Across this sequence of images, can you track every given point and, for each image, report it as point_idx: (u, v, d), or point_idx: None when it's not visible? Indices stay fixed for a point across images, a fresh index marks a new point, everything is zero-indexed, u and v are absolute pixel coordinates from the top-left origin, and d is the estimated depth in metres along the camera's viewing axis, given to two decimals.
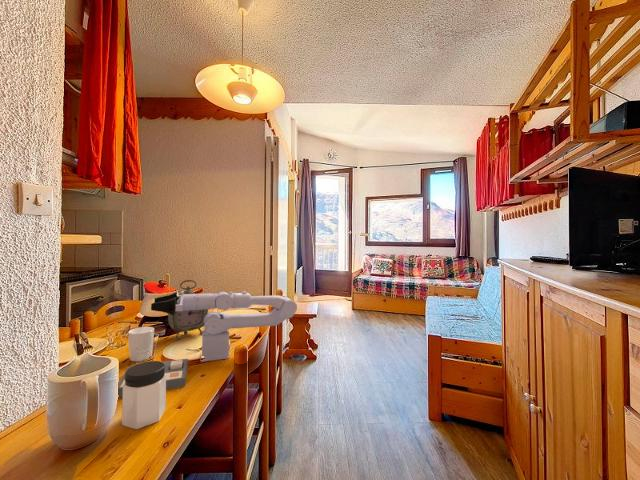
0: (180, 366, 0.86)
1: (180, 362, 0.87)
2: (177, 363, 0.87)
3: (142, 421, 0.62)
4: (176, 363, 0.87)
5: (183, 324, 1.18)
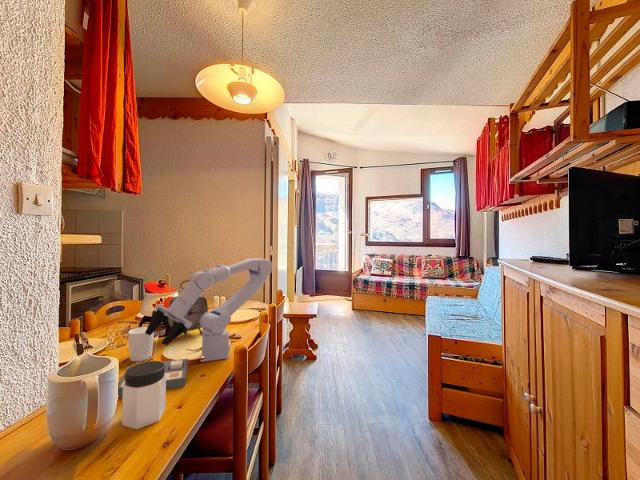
0: (180, 366, 0.86)
1: (180, 362, 0.87)
2: (177, 363, 0.87)
3: (142, 421, 0.62)
4: (176, 363, 0.87)
5: None
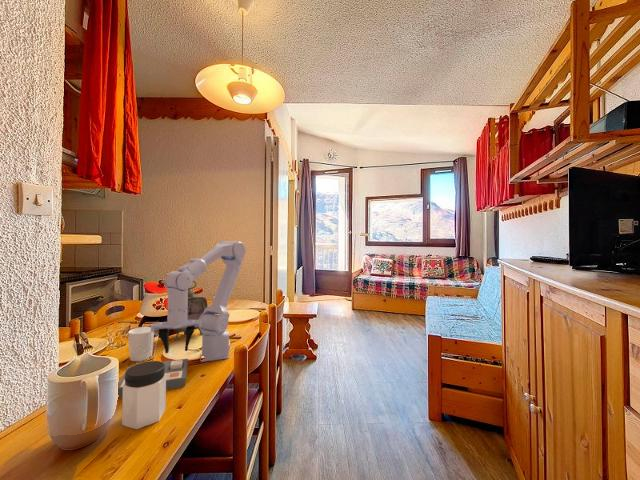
0: (180, 366, 0.86)
1: (180, 362, 0.87)
2: (177, 363, 0.87)
3: (142, 421, 0.62)
4: (176, 363, 0.87)
5: None
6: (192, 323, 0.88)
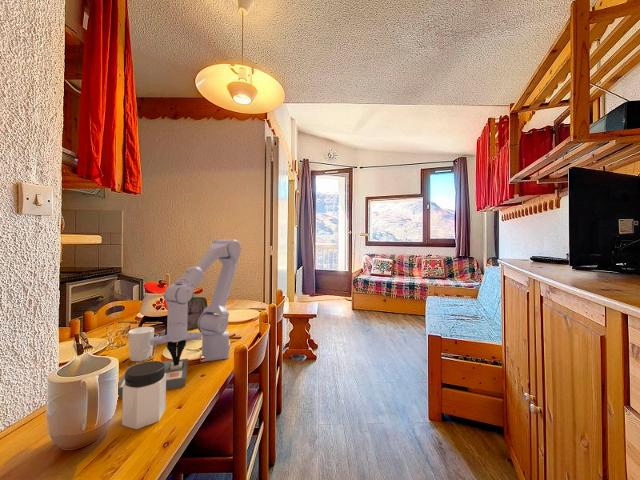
0: None
1: (180, 364, 0.87)
2: (177, 365, 0.87)
3: (142, 421, 0.62)
4: None
5: None
6: (192, 336, 0.88)
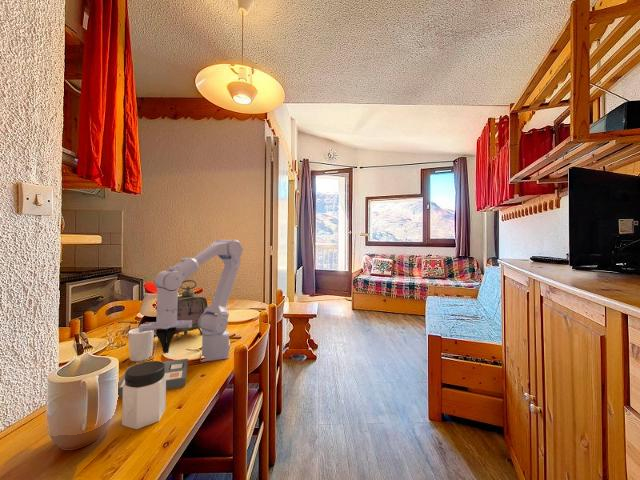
0: None
1: (180, 366, 0.87)
2: (177, 367, 0.87)
3: (142, 421, 0.62)
4: (176, 367, 0.87)
5: None
6: (182, 324, 0.86)
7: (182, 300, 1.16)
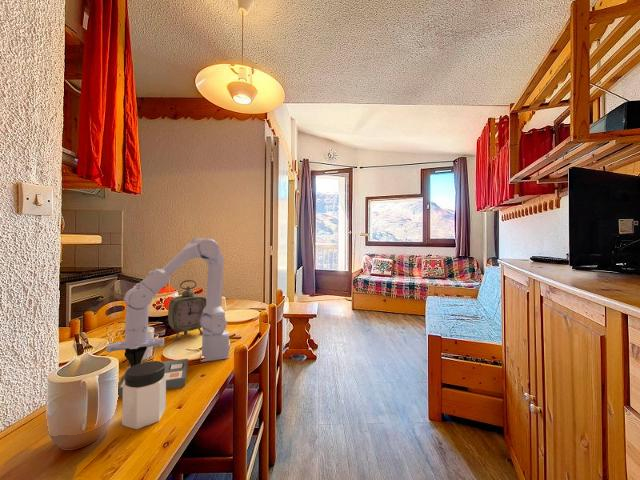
0: None
1: (180, 366, 0.87)
2: (177, 367, 0.87)
3: (142, 421, 0.62)
4: (176, 367, 0.87)
5: (183, 324, 1.18)
6: (152, 343, 0.83)
7: (182, 300, 1.16)
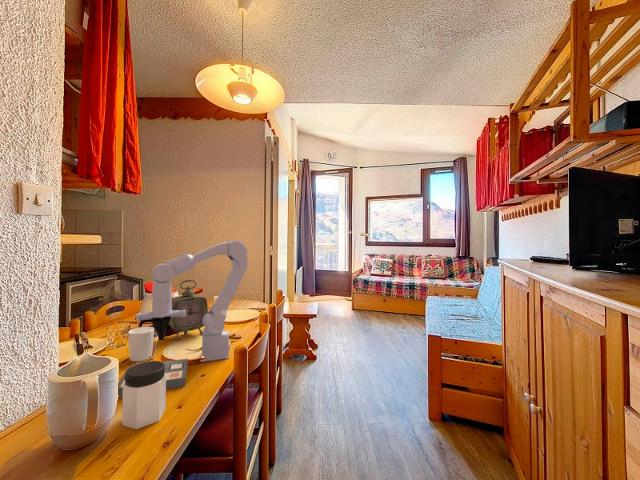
0: None
1: (180, 366, 0.87)
2: (177, 367, 0.87)
3: (142, 421, 0.62)
4: (176, 367, 0.87)
5: (183, 324, 1.18)
6: (176, 313, 0.92)
7: (182, 300, 1.16)
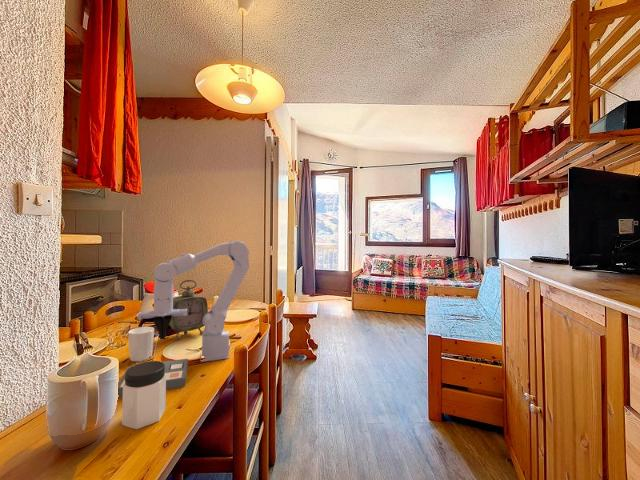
0: None
1: (180, 366, 0.87)
2: (177, 367, 0.87)
3: (142, 421, 0.62)
4: (176, 367, 0.87)
5: (183, 324, 1.18)
6: (177, 312, 0.93)
7: (182, 300, 1.16)
